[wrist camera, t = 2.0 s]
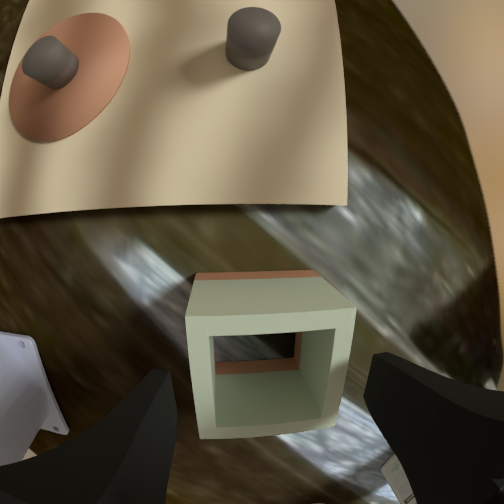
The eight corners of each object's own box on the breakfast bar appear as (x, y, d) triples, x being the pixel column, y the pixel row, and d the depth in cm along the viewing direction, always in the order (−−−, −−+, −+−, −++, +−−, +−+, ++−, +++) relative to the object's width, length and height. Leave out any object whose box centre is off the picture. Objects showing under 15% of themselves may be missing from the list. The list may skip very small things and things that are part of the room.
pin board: (4, 217, 12) (-36, 225, 8) (36, 5, 9) (12, -18, 6) (338, 204, 14) (373, 209, 10) (323, -22, 11) (343, -54, 8)
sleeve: (203, 372, 15) (199, 438, 10) (196, 272, 14) (185, 316, 9) (305, 366, 15) (334, 426, 11) (312, 269, 14) (356, 307, 9)
